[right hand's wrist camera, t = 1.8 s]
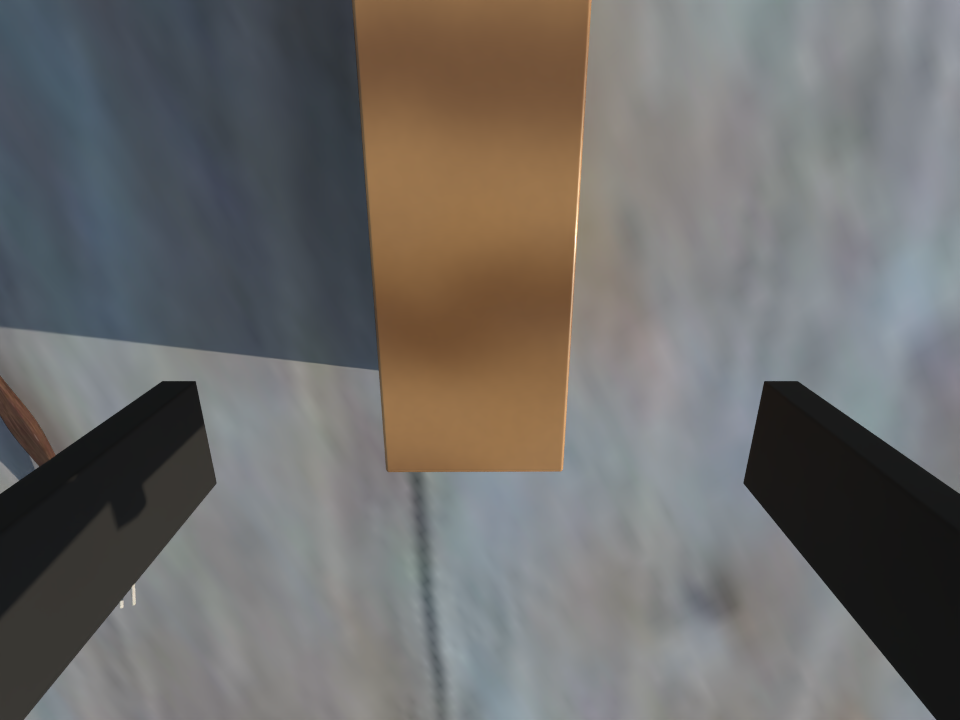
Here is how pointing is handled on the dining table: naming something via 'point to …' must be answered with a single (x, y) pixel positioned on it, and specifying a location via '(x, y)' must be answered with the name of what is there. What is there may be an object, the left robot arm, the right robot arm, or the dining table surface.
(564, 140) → the box
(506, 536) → the dining table surface
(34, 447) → the fork
